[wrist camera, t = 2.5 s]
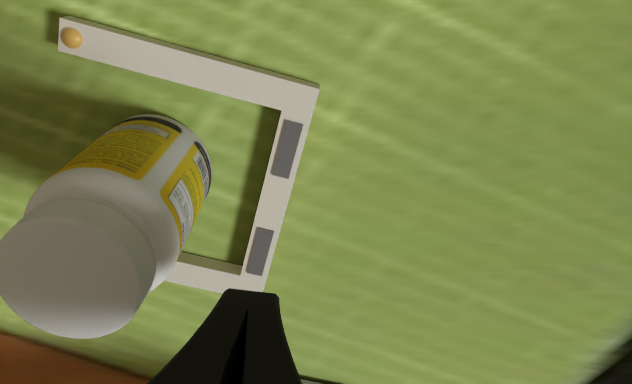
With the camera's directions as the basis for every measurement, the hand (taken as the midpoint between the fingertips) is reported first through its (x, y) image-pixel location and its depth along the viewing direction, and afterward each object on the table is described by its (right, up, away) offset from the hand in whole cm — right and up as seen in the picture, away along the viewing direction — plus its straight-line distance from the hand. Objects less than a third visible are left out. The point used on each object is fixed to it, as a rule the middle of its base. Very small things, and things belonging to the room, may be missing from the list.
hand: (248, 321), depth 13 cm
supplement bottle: (-5, +5, +8) cm, 11 cm away
